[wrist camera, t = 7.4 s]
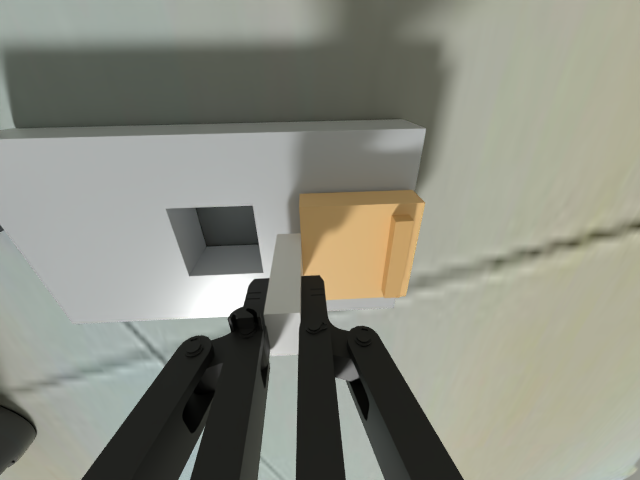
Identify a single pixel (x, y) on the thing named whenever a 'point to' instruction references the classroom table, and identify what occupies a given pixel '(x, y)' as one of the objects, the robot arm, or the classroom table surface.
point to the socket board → (180, 206)
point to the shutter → (360, 241)
